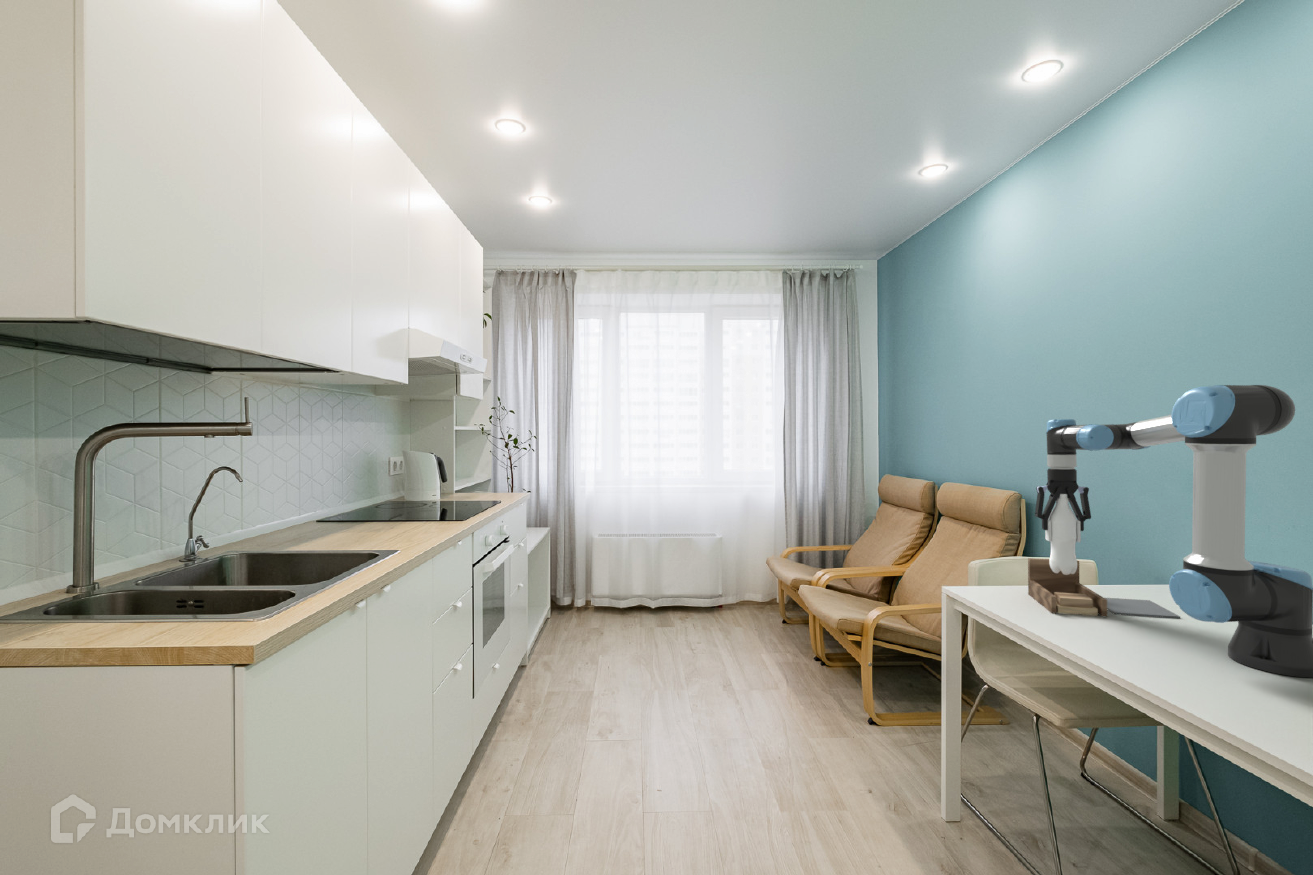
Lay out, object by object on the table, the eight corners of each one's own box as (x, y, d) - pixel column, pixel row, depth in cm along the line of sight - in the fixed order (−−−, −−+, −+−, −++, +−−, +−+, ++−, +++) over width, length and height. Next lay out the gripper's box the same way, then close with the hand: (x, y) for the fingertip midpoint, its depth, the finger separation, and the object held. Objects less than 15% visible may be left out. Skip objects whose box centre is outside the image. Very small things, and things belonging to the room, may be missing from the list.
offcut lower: (1097, 617, 166) (1097, 608, 166) (1058, 614, 169) (1057, 606, 169) (1087, 610, 173) (1087, 601, 173) (1049, 607, 176) (1049, 599, 176)
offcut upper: (1092, 608, 167) (1092, 599, 167) (1060, 605, 169) (1060, 597, 169) (1085, 602, 172) (1085, 594, 172) (1054, 600, 175) (1054, 592, 175)
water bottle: (1083, 575, 174) (1082, 494, 174) (1059, 575, 174) (1058, 494, 174) (1066, 570, 181) (1065, 492, 181) (1044, 570, 182) (1043, 492, 182)
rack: (1107, 616, 165) (1106, 575, 165) (1051, 612, 169) (1051, 573, 169) (1077, 596, 184) (1077, 560, 184) (1028, 594, 188) (1028, 558, 188)
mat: (1180, 618, 162) (1180, 616, 162) (1114, 614, 167) (1114, 612, 167) (1149, 602, 178) (1149, 600, 178) (1089, 598, 182) (1089, 596, 182)
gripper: (1093, 467, 179) (1094, 539, 179) (1021, 467, 184) (1022, 537, 184) (1105, 468, 171) (1106, 544, 171) (1029, 468, 177) (1030, 541, 177)
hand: (1062, 540), depth 178 cm, fingers closed on water bottle, 7 cm apart
